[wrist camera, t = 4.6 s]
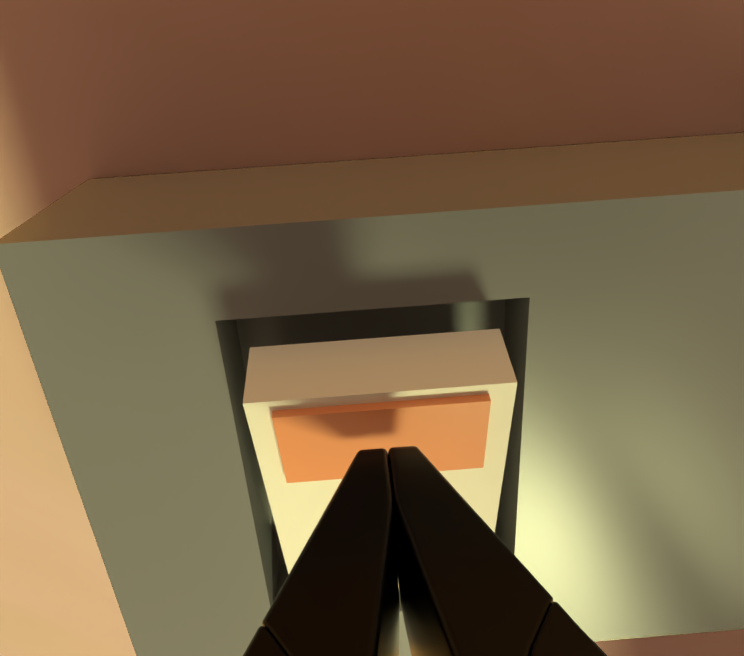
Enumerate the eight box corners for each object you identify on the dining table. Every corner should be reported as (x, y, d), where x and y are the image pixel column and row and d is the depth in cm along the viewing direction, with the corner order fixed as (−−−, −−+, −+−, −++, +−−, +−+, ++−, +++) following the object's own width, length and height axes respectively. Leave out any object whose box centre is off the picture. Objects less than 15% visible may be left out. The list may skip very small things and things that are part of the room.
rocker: (476, 531, 14) (488, 589, 13) (297, 545, 14) (294, 605, 13) (499, 328, 10) (519, 389, 9) (250, 347, 10) (241, 410, 9)
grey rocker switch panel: (1004, 475, 18) (1173, 592, 14) (184, 541, 17) (144, 679, 14) (1194, 100, 13) (1514, 134, 10) (89, 179, 13) (-9, 244, 9)
